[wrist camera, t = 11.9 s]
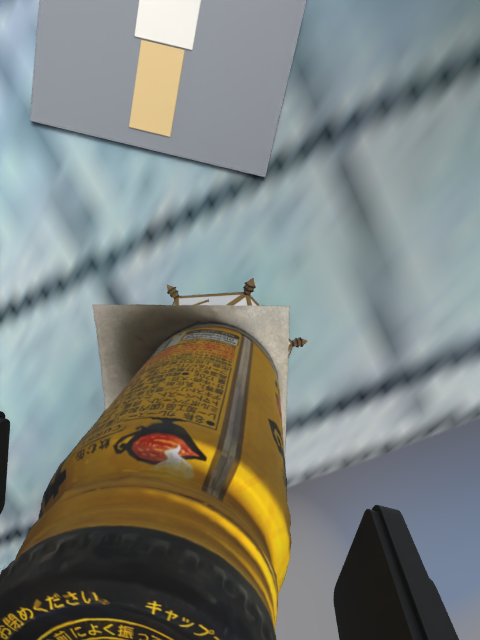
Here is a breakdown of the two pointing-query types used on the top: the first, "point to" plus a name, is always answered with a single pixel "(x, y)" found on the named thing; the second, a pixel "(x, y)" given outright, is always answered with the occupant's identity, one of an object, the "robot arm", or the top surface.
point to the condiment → (167, 487)
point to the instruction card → (168, 74)
